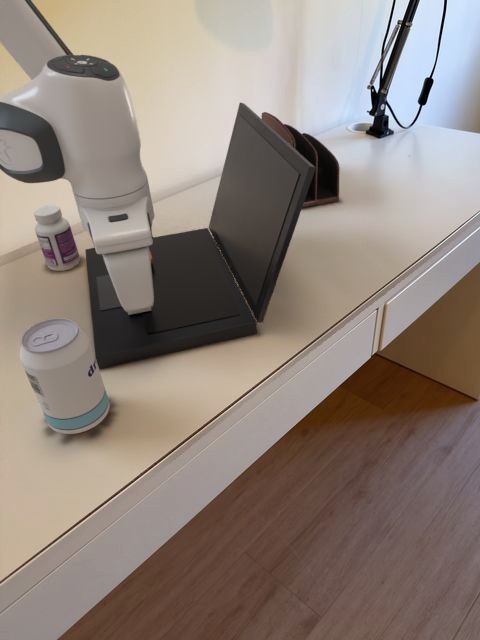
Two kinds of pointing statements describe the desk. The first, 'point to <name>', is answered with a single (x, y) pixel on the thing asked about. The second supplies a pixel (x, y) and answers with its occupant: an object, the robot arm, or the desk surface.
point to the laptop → (169, 302)
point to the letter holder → (318, 155)
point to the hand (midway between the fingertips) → (138, 301)
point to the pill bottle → (56, 238)
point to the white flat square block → (139, 311)
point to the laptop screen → (258, 206)
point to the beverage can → (64, 375)
